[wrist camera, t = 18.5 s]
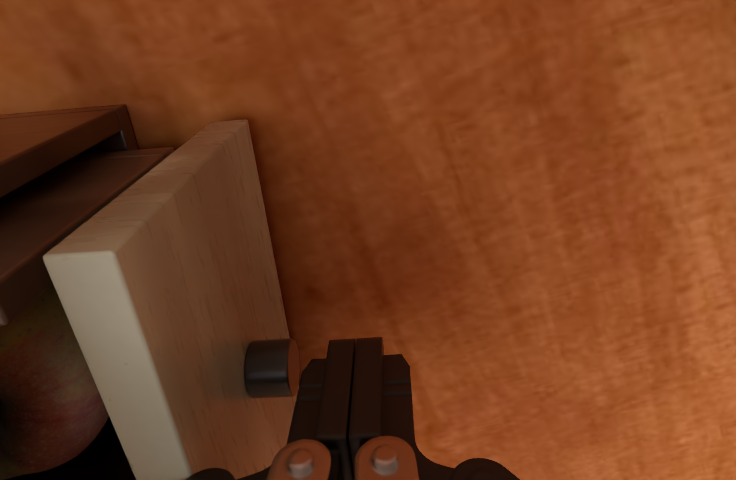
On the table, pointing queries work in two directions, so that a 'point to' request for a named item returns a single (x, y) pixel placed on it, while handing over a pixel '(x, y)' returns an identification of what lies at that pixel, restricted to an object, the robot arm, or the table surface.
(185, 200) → the drawer
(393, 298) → the table surface
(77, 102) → the table surface
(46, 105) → the table surface
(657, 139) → the table surface
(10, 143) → the cabinet
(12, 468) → the apple
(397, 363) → the robot arm
